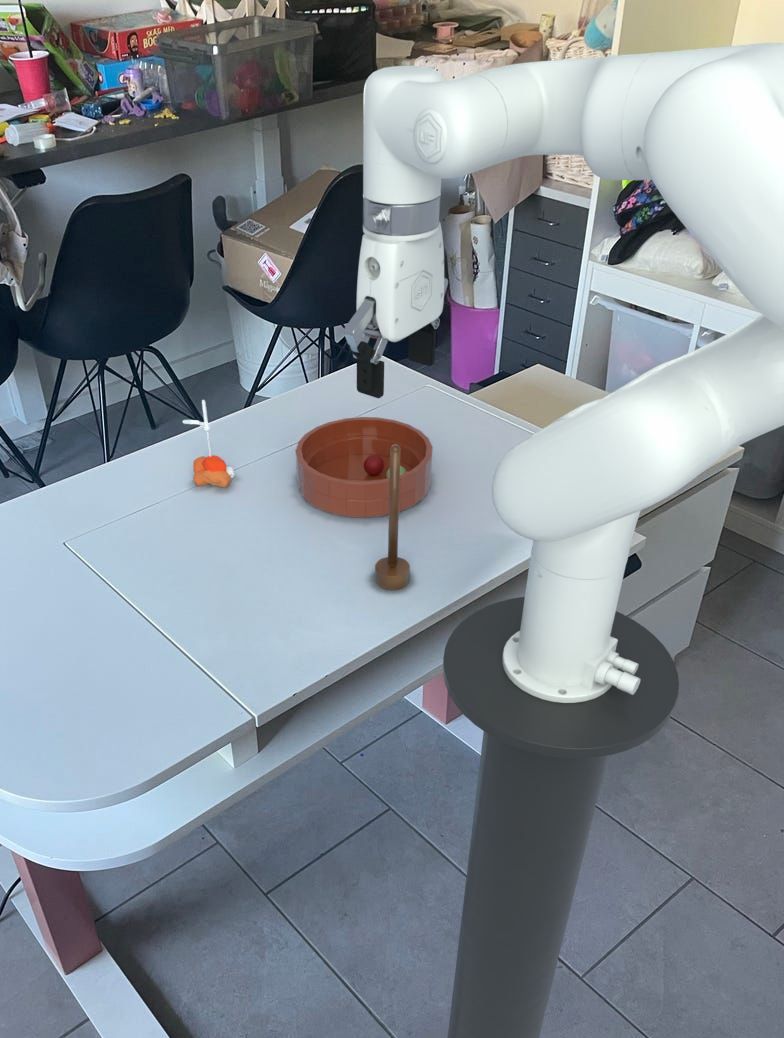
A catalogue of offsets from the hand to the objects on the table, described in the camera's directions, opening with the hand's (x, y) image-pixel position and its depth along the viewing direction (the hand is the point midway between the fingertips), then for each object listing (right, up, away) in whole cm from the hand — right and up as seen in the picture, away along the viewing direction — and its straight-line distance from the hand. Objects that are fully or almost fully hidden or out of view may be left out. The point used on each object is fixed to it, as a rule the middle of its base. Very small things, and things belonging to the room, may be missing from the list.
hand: (396, 377), depth 103 cm
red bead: (0, -3, +36) cm, 36 cm away
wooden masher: (+1, -21, +18) cm, 28 cm away
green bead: (+3, -5, +33) cm, 34 cm away
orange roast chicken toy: (-24, -5, +39) cm, 46 cm away
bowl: (-1, -6, +36) cm, 36 cm away
